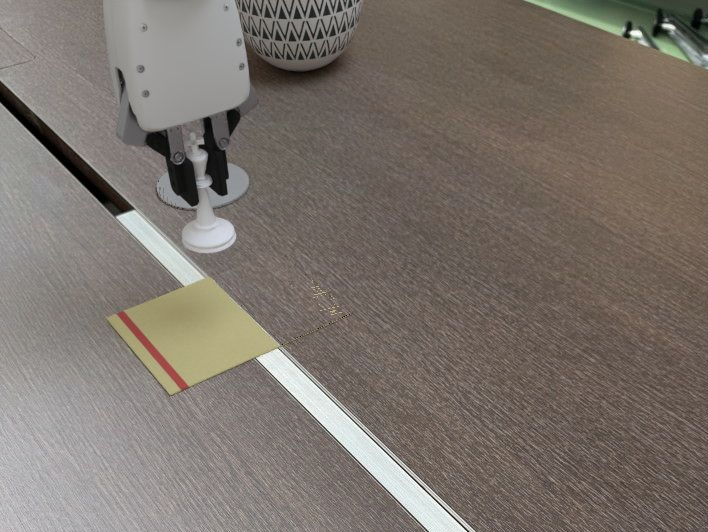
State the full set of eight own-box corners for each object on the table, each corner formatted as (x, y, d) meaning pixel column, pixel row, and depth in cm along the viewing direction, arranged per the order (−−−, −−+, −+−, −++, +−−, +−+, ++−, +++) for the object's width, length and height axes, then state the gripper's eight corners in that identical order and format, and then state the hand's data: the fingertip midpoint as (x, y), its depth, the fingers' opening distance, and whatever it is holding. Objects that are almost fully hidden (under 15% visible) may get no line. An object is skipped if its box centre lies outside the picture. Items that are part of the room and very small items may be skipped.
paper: (170, 396, 76) (170, 394, 76) (106, 319, 84) (105, 317, 83) (351, 314, 84) (351, 313, 83) (277, 250, 91) (277, 249, 91)
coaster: (183, 221, 95) (182, 218, 95) (140, 181, 101) (140, 178, 101) (266, 190, 99) (266, 188, 99) (221, 153, 105) (220, 151, 105)
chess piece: (239, 250, 76) (224, 142, 68) (183, 256, 75) (163, 148, 68) (233, 220, 79) (219, 114, 71) (180, 226, 78) (160, 120, 71)
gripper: (235, -80, 65) (258, 151, 79) (35, -38, 59) (99, 203, 73) (287, -52, 61) (302, 185, 75) (78, -5, 55) (137, 244, 69)
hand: (201, 192), depth 74 cm, fingers closed on chess piece
